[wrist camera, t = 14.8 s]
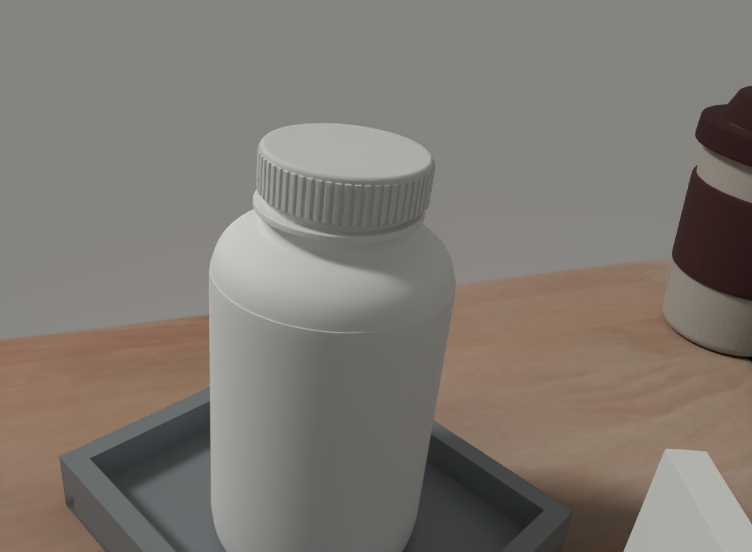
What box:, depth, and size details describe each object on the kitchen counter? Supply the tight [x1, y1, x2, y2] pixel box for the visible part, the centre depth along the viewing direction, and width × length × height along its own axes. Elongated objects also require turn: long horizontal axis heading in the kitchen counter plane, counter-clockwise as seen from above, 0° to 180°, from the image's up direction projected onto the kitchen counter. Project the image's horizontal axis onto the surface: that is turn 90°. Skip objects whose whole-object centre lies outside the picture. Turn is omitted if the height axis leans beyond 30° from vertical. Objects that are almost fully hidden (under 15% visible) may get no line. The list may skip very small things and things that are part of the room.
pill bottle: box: [209, 123, 456, 552], centre depth 25 cm, size 8×8×15 cm
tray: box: [60, 387, 573, 552], centre depth 28 cm, size 15×13×2 cm
